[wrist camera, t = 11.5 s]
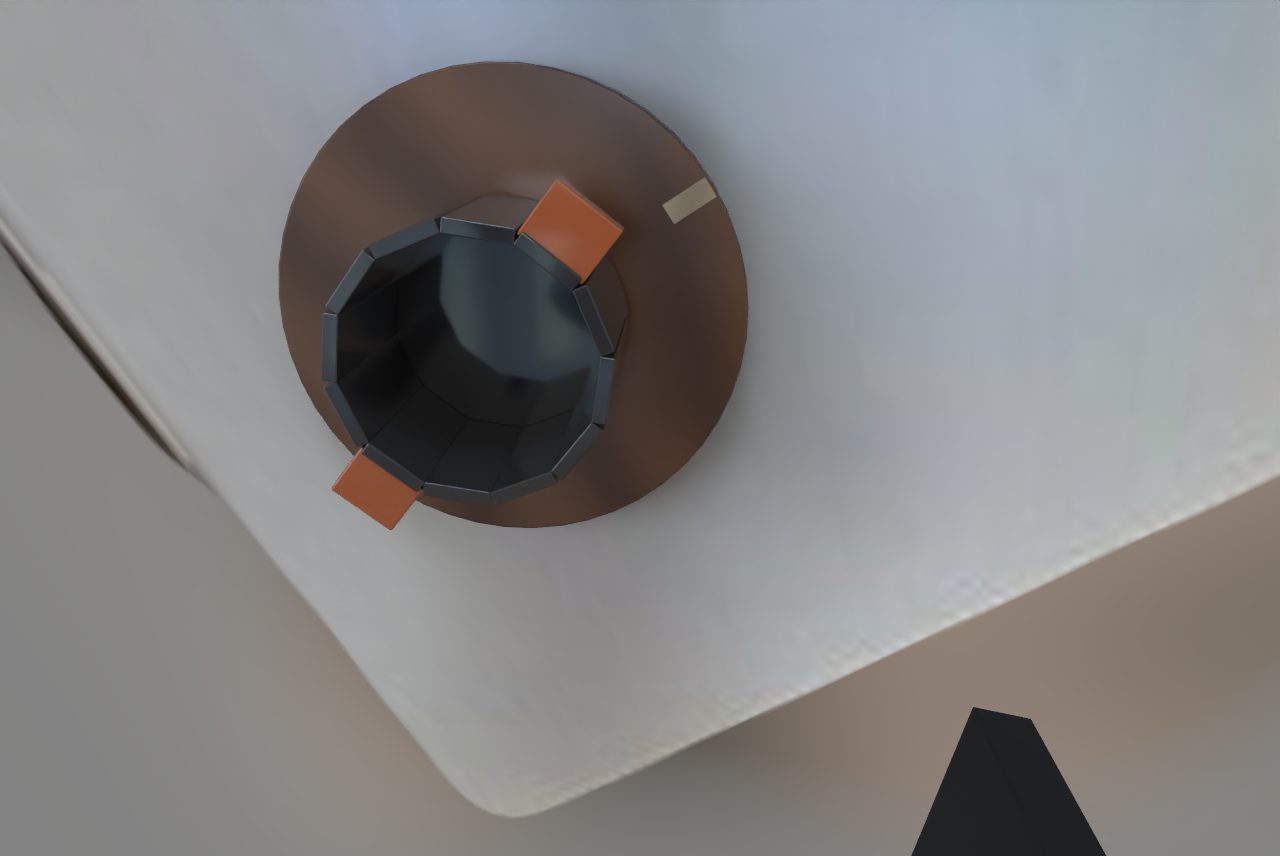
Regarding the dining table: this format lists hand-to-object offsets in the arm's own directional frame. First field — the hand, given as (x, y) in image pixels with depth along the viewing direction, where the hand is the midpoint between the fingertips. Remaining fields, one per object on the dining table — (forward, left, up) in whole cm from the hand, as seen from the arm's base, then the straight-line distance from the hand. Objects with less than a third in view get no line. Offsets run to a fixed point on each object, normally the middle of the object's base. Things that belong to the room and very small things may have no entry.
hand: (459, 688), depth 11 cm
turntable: (-4, +2, -25) cm, 25 cm away
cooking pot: (-4, +2, -23) cm, 23 cm away
